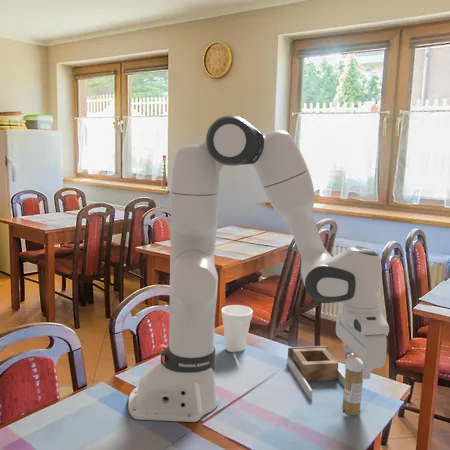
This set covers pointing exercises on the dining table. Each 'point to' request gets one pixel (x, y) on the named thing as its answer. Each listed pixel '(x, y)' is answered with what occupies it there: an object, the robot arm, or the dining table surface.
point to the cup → (236, 326)
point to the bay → (300, 376)
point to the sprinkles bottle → (352, 386)
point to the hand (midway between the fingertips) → (356, 368)
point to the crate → (315, 364)
